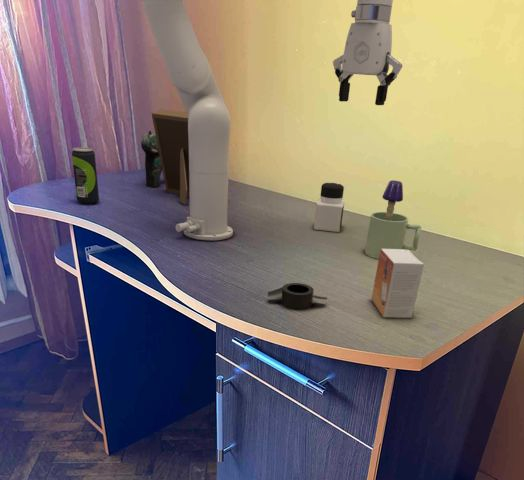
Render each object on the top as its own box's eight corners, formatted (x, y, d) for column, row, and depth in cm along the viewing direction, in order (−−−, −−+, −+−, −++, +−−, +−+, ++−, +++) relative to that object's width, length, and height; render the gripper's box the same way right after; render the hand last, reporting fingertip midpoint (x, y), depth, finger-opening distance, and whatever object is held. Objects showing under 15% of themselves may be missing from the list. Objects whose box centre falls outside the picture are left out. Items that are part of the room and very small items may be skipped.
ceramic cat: (152, 188, 174) (149, 124, 164) (138, 185, 177) (135, 122, 167) (190, 181, 189) (190, 121, 179) (177, 178, 192) (176, 119, 182)
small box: (370, 300, 100) (379, 247, 95) (398, 300, 101) (409, 248, 96) (382, 318, 93) (393, 262, 88) (412, 318, 94) (424, 263, 89)
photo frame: (174, 189, 175) (172, 108, 163) (226, 200, 166) (228, 115, 154) (144, 196, 164) (139, 110, 152) (197, 208, 154) (197, 117, 142)
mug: (365, 257, 123) (371, 219, 119) (364, 247, 131) (370, 210, 126) (416, 263, 122) (424, 224, 117) (413, 252, 129) (420, 215, 125)
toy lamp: (394, 250, 127) (407, 181, 119) (390, 256, 123) (403, 184, 115) (375, 247, 129) (387, 178, 121) (370, 252, 125) (382, 181, 117)
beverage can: (102, 204, 153) (97, 150, 145) (81, 205, 149) (75, 151, 142) (95, 199, 157) (90, 147, 150) (74, 201, 154) (68, 147, 146)
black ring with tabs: (285, 290, 102) (286, 276, 101) (329, 304, 97) (331, 290, 96) (263, 301, 97) (264, 287, 95) (308, 317, 92) (310, 302, 90)
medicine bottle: (339, 232, 141) (345, 187, 135) (313, 229, 142) (318, 184, 136) (341, 226, 147) (347, 182, 141) (316, 223, 148) (321, 180, 142)
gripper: (330, 14, 115) (321, 100, 123) (401, 14, 105) (386, 106, 114) (347, 18, 120) (338, 99, 128) (417, 18, 111) (401, 106, 119)
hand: (361, 103), depth 121 cm, fingers open, 9 cm apart
